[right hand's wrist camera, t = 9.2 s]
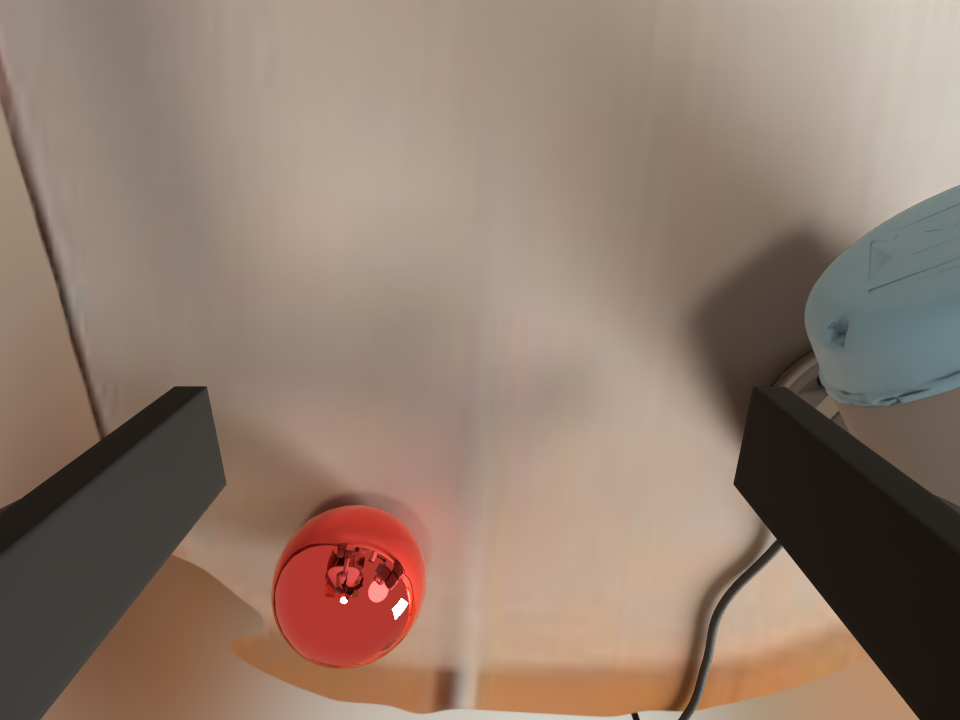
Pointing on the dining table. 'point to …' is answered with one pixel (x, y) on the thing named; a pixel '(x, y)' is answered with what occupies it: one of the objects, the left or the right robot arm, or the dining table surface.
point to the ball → (348, 587)
